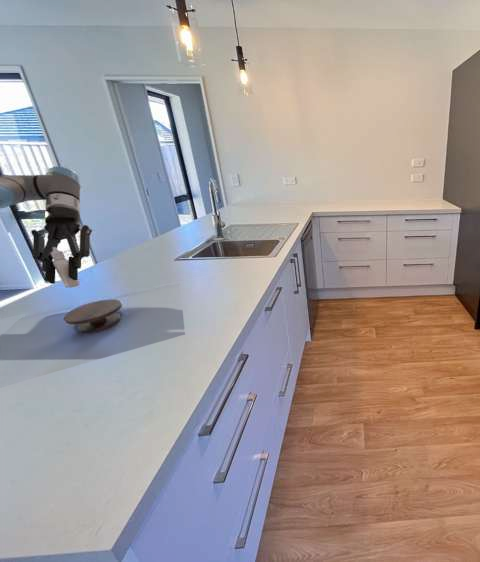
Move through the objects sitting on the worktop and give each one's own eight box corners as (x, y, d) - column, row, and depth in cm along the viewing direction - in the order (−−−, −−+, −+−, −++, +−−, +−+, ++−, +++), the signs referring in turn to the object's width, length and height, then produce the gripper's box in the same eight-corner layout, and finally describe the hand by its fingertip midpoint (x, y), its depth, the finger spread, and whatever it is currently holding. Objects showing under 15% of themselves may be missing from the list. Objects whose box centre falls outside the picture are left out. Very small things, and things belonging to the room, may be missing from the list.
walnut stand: (66, 341, 83) (57, 326, 80) (76, 321, 93) (69, 307, 90) (124, 326, 89) (118, 312, 87) (128, 308, 99) (123, 295, 97)
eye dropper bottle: (59, 290, 88) (39, 251, 83) (67, 282, 92) (48, 245, 87) (78, 287, 89) (59, 248, 84) (85, 280, 94) (67, 243, 89)
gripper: (15, 207, 87) (10, 280, 80) (91, 202, 93) (92, 269, 86) (35, 222, 94) (31, 290, 87) (104, 216, 100) (106, 279, 93)
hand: (61, 279), depth 86 cm, fingers closed on eye dropper bottle, 4 cm apart
